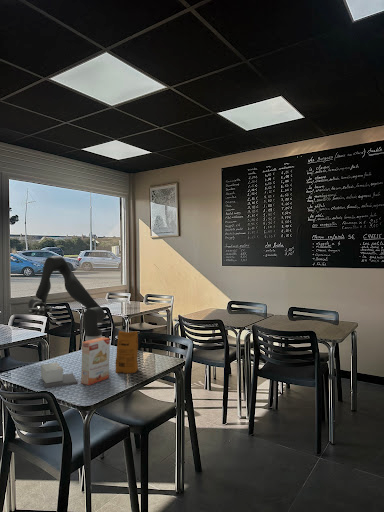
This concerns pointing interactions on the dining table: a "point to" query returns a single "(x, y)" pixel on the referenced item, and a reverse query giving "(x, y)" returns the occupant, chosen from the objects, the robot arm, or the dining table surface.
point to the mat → (67, 380)
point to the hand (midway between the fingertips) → (42, 312)
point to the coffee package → (127, 352)
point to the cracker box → (95, 360)
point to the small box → (51, 372)
